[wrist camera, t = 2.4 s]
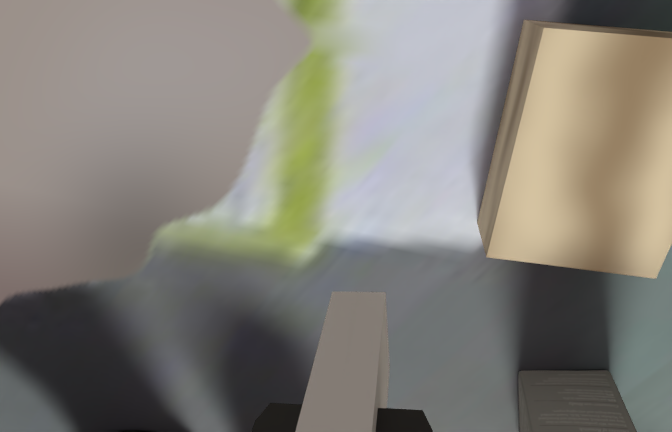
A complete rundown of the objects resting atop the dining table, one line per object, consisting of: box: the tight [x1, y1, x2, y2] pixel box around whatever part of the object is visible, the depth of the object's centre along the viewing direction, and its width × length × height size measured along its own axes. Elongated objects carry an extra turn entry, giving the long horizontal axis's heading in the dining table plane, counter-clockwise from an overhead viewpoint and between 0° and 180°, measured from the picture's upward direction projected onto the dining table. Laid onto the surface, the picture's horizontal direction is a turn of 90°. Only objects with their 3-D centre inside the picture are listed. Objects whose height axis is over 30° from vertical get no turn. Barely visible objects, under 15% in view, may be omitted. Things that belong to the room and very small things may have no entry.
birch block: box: [477, 20, 672, 279], centre depth 25 cm, size 9×12×4 cm
